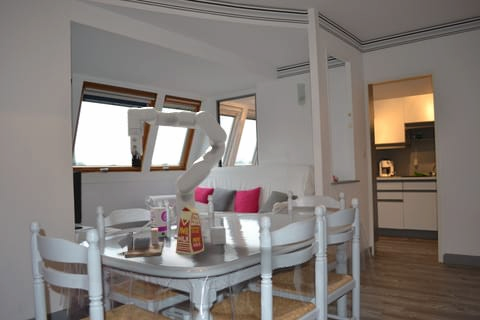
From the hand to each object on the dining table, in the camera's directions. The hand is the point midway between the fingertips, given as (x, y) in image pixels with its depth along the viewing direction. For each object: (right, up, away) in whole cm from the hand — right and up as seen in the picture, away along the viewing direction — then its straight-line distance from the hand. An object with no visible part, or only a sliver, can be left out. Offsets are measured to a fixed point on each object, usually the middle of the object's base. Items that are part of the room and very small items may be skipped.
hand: (136, 167), depth 188 cm
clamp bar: (+8, -29, -26) cm, 40 cm away
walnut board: (+11, -35, -26) cm, 45 cm away
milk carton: (+31, -35, -31) cm, 56 cm away
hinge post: (+5, -34, -27) cm, 44 cm away
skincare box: (+42, -35, -15) cm, 56 cm away
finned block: (+10, -34, -26) cm, 44 cm away
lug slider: (+14, -34, -20) cm, 42 cm away
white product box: (+9, -37, +9) cm, 39 cm away
